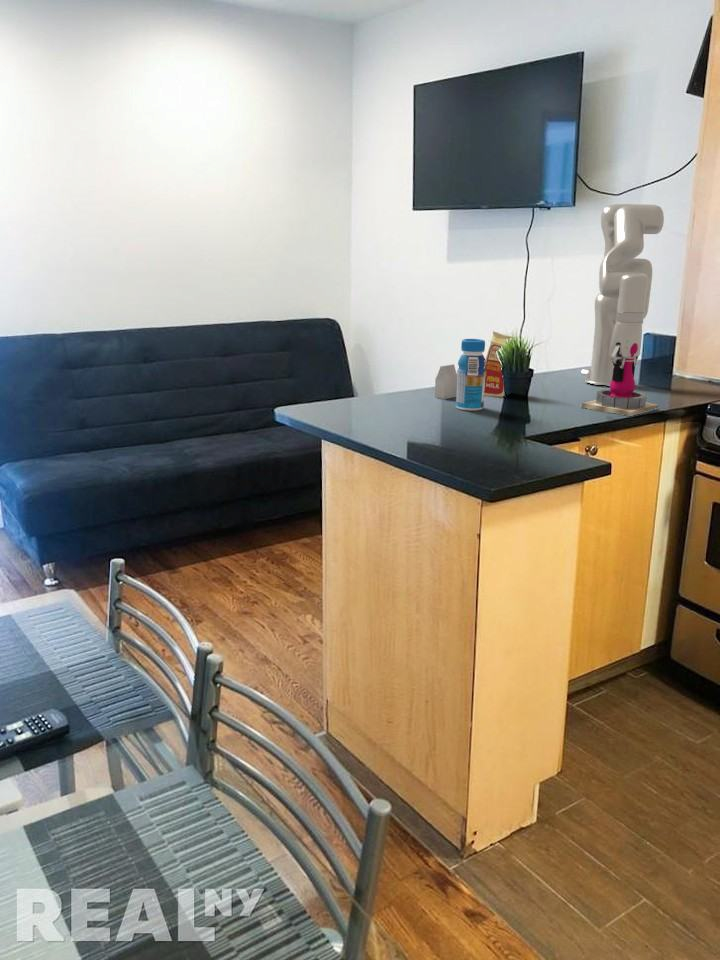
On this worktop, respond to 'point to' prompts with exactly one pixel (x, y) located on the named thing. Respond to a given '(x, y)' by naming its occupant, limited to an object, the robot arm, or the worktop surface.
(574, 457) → the worktop surface
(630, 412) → the birch board
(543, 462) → the worktop surface
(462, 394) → the beverage bottle
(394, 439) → the worktop surface
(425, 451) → the worktop surface
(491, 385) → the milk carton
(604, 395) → the steel ring collar
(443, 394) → the tea bag
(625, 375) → the pepper mill
